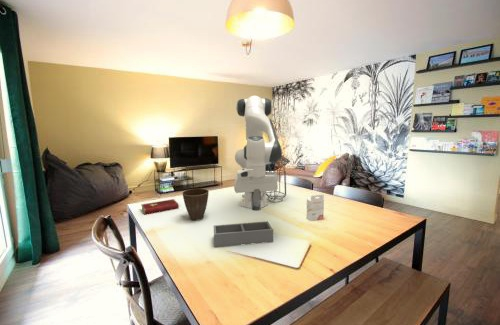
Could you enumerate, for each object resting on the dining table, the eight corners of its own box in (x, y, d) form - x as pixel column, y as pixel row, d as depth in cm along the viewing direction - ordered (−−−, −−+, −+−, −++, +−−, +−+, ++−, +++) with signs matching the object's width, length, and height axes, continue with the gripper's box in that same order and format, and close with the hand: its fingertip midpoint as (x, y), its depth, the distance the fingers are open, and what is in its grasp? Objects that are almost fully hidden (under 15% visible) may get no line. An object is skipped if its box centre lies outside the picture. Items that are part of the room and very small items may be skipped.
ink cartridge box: (318, 216, 140) (319, 192, 138) (323, 219, 135) (324, 194, 133) (306, 217, 138) (306, 193, 136) (310, 221, 133) (311, 195, 131)
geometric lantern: (261, 198, 176) (261, 152, 171) (279, 196, 182) (280, 151, 178) (271, 204, 161) (272, 154, 157) (290, 202, 168) (292, 153, 164)
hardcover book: (178, 209, 155) (178, 203, 155) (144, 215, 144) (144, 209, 143) (173, 204, 165) (173, 198, 165) (141, 210, 154) (141, 204, 153)
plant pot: (203, 223, 130) (202, 196, 128) (178, 222, 133) (177, 194, 130) (213, 214, 144) (212, 189, 142) (190, 212, 147) (189, 188, 145)
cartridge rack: (213, 237, 114) (213, 225, 113) (267, 232, 118) (267, 221, 118) (214, 247, 104) (214, 234, 103) (273, 241, 109) (273, 229, 108)
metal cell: (250, 207, 112) (250, 185, 110) (259, 207, 113) (259, 185, 111) (252, 211, 108) (252, 188, 106) (261, 210, 108) (261, 187, 107)
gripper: (275, 169, 112) (275, 197, 114) (233, 171, 109) (233, 199, 111) (279, 171, 106) (279, 201, 108) (234, 173, 103) (235, 204, 105)
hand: (256, 200), depth 110 cm, fingers closed on metal cell, 4 cm apart
